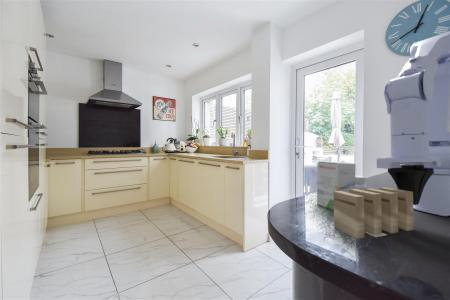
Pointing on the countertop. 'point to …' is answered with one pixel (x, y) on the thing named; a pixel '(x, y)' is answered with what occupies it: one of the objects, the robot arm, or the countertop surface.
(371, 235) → the plate
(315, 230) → the countertop surface
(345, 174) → the ink box
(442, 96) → the robot arm
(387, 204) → the tile
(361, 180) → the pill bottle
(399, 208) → the tile
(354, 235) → the tile
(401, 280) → the countertop surface
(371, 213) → the tile
